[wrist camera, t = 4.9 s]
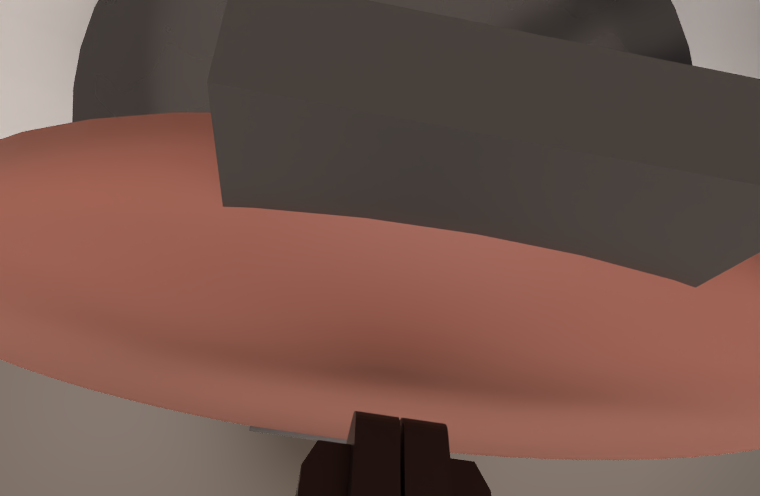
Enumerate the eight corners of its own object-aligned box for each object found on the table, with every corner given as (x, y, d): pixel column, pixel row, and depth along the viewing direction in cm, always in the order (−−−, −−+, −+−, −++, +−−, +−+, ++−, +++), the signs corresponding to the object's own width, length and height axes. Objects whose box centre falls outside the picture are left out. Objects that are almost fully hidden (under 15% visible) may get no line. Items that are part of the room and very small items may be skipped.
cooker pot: (203, -400, 22) (43, -548, 12) (702, -276, 23) (937, -313, 13) (176, 199, 33) (83, 383, 23) (512, 256, 35) (562, 453, 25)
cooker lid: (-618, -222, 5) (-760, -71, 5) (1434, 196, 7) (1505, 346, 6) (70, 361, 23) (57, 405, 23) (579, 437, 25) (579, 480, 24)
